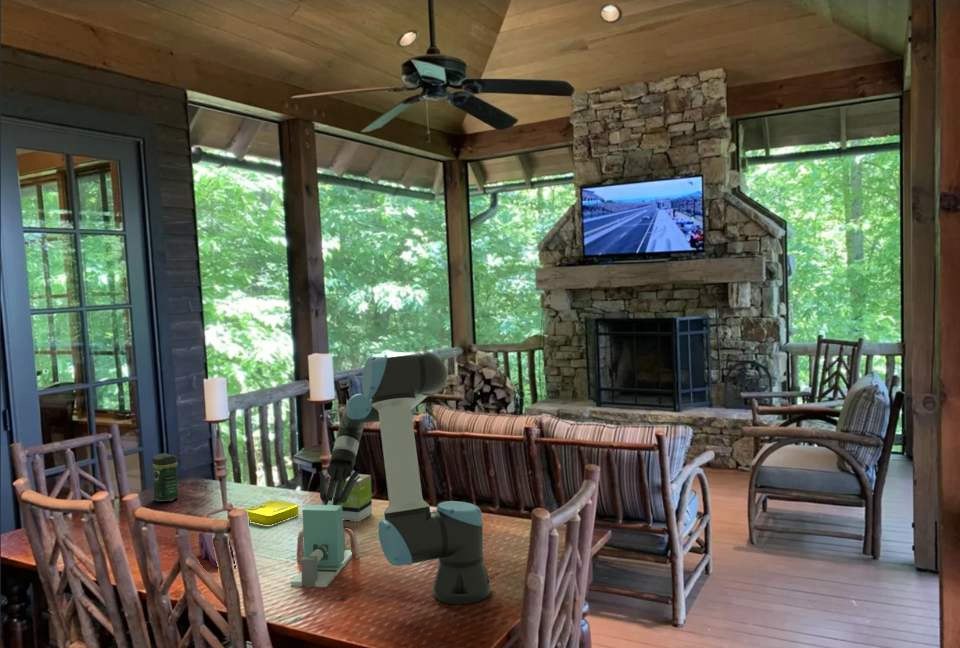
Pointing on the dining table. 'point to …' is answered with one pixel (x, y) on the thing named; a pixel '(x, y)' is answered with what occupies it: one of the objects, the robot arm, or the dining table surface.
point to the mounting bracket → (209, 548)
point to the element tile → (271, 512)
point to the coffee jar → (165, 476)
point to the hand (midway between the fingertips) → (326, 523)
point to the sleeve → (324, 532)
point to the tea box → (357, 499)
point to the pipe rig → (319, 568)
